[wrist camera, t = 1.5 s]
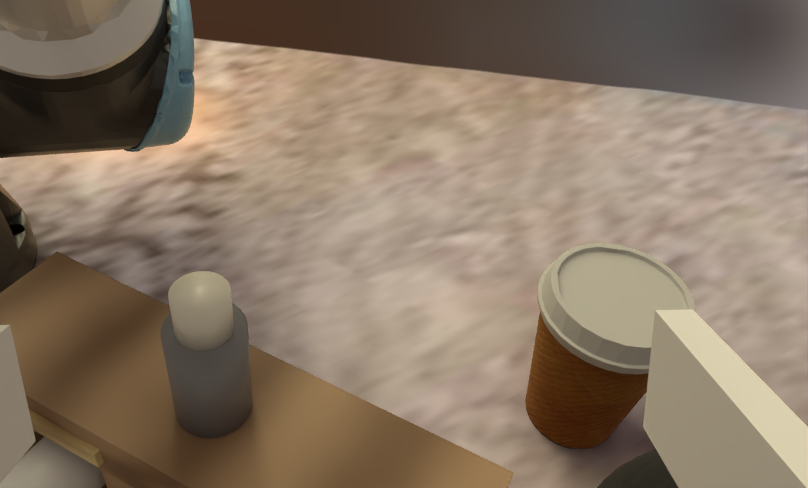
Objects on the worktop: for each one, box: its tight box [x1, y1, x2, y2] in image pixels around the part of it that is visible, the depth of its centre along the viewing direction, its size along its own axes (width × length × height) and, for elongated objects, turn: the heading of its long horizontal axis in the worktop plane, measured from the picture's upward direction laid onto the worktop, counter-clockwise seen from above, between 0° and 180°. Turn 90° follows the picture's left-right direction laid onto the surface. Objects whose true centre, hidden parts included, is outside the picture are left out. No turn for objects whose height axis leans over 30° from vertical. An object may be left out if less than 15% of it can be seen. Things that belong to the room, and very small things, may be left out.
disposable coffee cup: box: [526, 243, 696, 449], centre depth 45 cm, size 10×10×12 cm
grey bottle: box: [160, 271, 253, 438], centre depth 28 cm, size 3×3×7 cm
